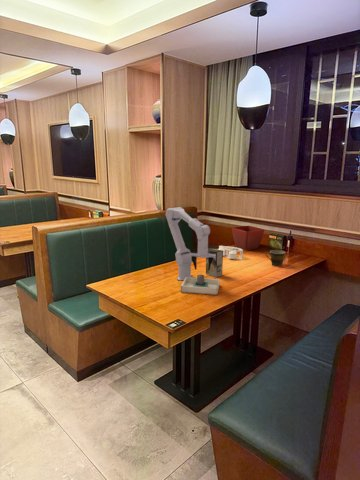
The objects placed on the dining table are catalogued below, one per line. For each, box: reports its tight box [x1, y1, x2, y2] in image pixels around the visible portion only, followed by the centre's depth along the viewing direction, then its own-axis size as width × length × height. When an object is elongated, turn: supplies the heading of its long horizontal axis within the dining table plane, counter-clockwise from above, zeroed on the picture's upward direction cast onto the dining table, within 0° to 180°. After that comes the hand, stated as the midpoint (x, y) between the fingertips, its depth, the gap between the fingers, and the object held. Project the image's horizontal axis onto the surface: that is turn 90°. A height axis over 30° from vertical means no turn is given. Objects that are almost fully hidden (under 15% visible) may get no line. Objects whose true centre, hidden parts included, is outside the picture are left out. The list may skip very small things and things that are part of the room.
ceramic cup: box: [265, 249, 286, 268], centre depth 233 cm, size 13×10×10 cm
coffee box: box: [205, 247, 224, 278], centre depth 214 cm, size 9×6×16 cm
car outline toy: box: [217, 245, 244, 261], centre depth 252 cm, size 20×11×7 cm, turn 39°
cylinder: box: [196, 274, 205, 286], centre depth 191 cm, size 4×4×7 cm
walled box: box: [180, 276, 221, 296], centre depth 192 cm, size 15×20×4 cm
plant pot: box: [231, 225, 265, 251], centre depth 278 cm, size 19×19×17 cm
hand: (202, 269), depth 195 cm, fingers open, 7 cm apart
